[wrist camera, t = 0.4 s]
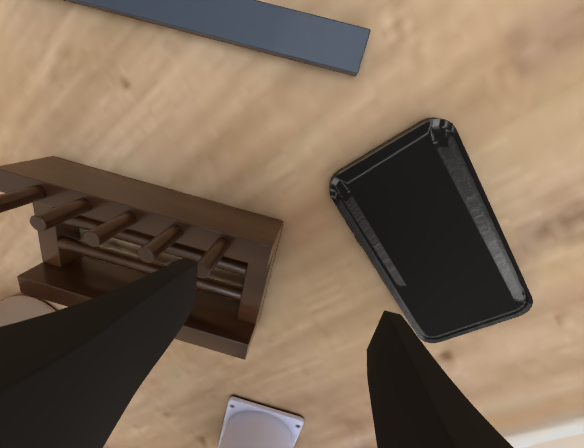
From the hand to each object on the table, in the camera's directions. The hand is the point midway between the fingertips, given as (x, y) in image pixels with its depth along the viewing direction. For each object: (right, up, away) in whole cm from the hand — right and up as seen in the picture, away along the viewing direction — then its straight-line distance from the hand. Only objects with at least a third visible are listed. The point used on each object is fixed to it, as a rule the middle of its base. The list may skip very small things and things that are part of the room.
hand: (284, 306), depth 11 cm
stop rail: (-6, +15, +5) cm, 17 cm away
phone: (+10, +2, +9) cm, 13 cm away
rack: (-10, +1, +12) cm, 16 cm away
